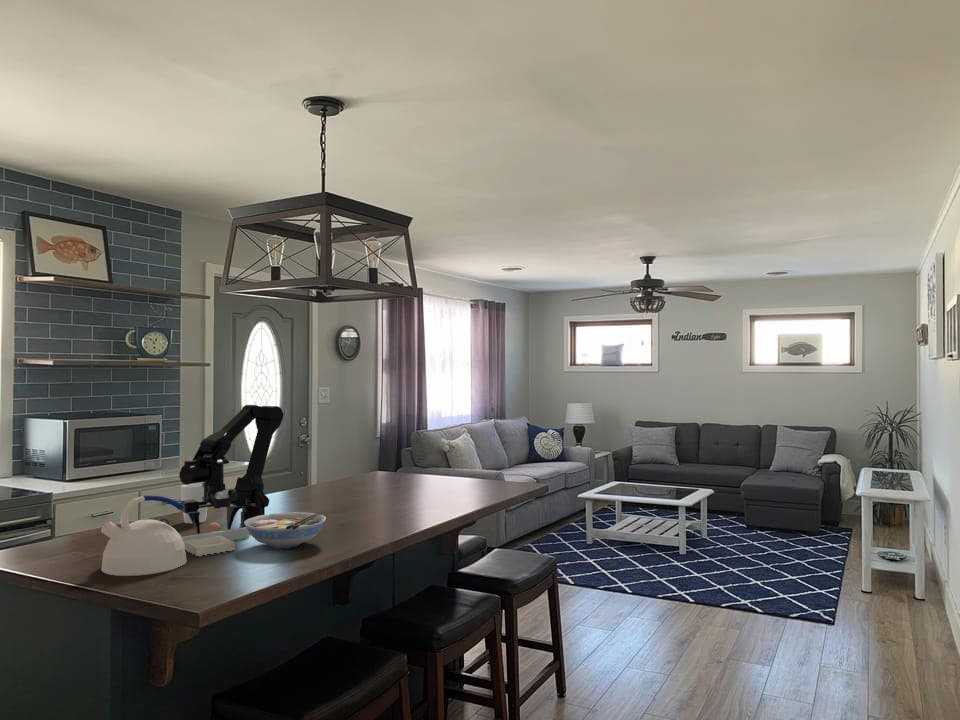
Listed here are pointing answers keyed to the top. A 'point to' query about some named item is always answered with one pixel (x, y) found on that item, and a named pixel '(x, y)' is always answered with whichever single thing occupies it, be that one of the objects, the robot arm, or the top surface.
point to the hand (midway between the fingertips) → (213, 531)
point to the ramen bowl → (285, 528)
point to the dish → (209, 545)
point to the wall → (221, 534)
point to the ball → (213, 527)
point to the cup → (196, 494)
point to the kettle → (142, 544)
